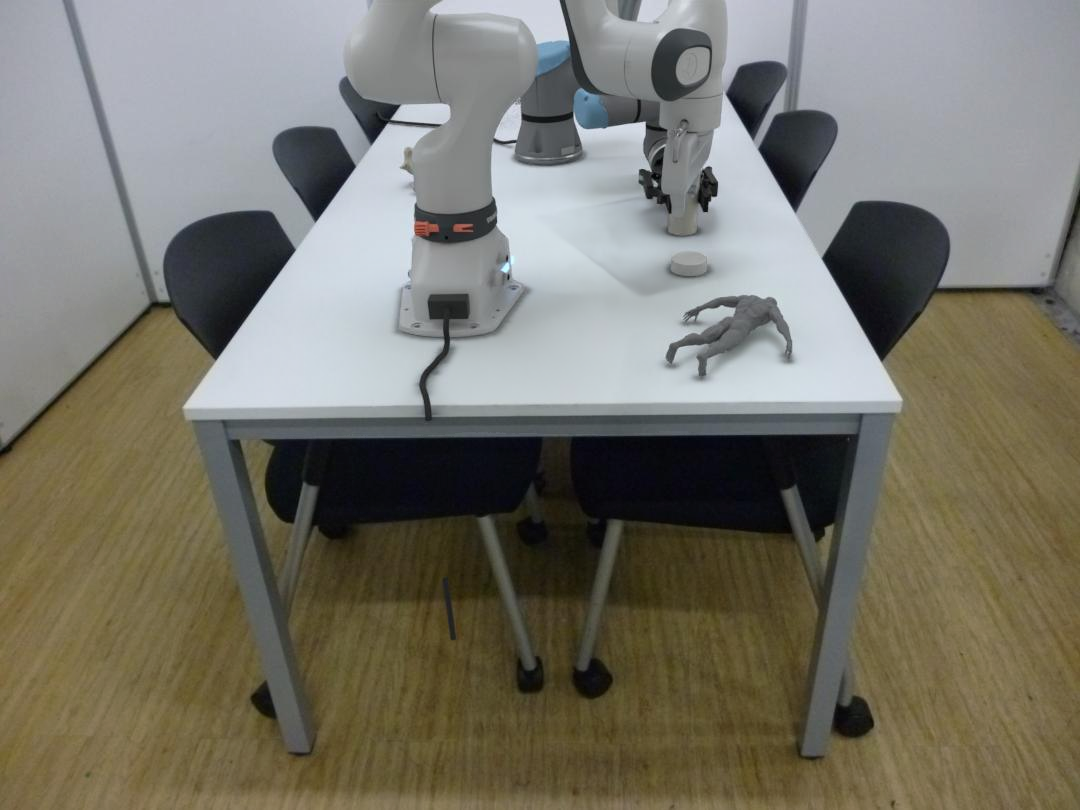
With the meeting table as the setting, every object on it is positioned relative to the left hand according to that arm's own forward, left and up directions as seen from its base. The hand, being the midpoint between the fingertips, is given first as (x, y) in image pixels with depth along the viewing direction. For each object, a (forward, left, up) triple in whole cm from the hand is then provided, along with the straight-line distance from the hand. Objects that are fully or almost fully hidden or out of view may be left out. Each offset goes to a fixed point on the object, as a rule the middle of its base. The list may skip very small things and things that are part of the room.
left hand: (684, 206), depth 128 cm
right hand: (+11, -1, -4) cm, 11 cm away
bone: (+40, +51, -10) cm, 65 cm away
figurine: (-26, -5, -10) cm, 28 cm away
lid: (-1, -1, -8) cm, 9 cm away
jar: (+16, -1, -10) cm, 19 cm away
